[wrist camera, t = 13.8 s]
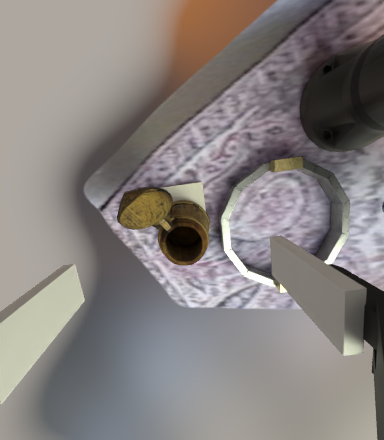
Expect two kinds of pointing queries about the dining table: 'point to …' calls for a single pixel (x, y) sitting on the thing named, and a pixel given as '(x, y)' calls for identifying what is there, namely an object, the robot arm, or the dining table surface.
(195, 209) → the wooden mug
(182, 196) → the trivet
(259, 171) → the collar
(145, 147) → the dining table surface
